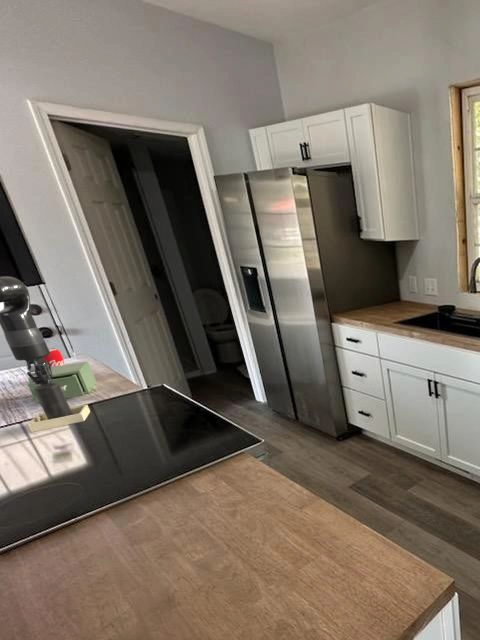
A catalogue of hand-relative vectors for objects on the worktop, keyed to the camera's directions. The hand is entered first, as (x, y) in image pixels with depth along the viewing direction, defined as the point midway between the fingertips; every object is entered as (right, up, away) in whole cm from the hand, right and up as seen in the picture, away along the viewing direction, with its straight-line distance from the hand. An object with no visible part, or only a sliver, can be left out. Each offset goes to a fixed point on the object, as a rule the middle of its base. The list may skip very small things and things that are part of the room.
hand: (51, 394), depth 134 cm
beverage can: (-31, +5, +30) cm, 43 cm away
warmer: (-10, 0, +15) cm, 18 cm away
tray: (+15, -8, -10) cm, 19 cm away
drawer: (-6, -1, +9) cm, 11 cm away
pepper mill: (+15, -7, -10) cm, 19 cm away
